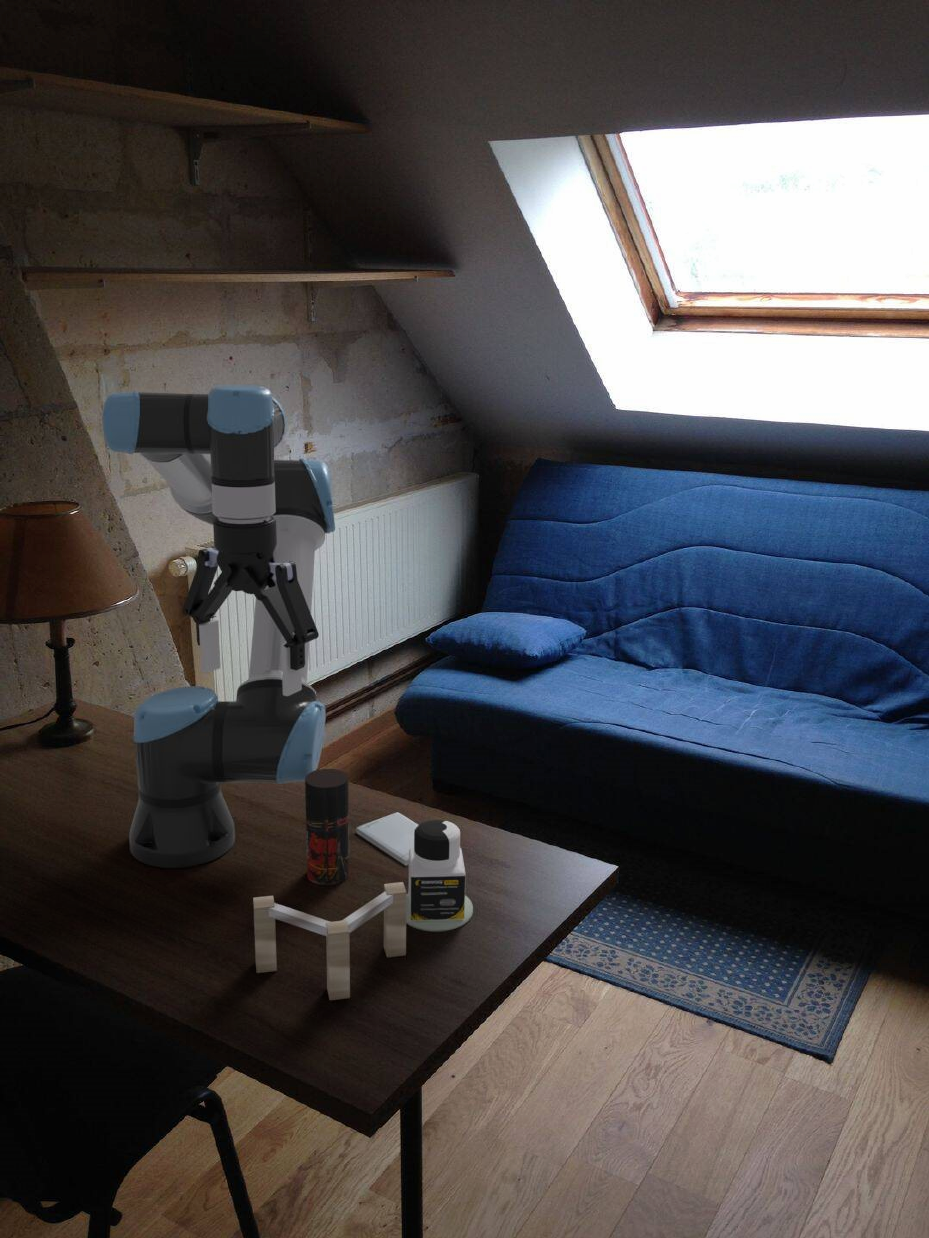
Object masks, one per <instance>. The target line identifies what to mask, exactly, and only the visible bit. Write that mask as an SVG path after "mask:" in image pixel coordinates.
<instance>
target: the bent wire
mask: <svg viewBox="0 0 929 1238" xmlns="http://www.w3.org/2000/svg"><path fill="white" fill-rule="evenodd" d="M406 895H407V890H406V887H405V884H404V882H403V881H399V882H392V883H391V882H390V883H384V884H383V892H382V893H381V894H379V895H377V896H376V897H374V898H373V899H372V900H370V901H368V902H367V903H366V904H364V905H363V906H361V907H360V908H358V909H357V910H355V911H354V912H352V913H351V914H349V915H348V916H346V917H345V918H344V919H342V920H336V921H329V920H327V919H323V918H321V917H317V916H315V915H313V914H309V913H306V912H303V911H299V910H297V909H293V908H291V907H288V906H285V905H282V904H280V903H279V904H278V903H276V902H275V899H274V895H266V896H257V897H252V899H253V900H252V904H253V925H254V927H253V928H254V949H255V951H254V953H255V956H254V957H255V968H256V974H260V973H269V972H270V973H271V972H277V971H278V969H277V967H278V966H277V939H276V938H277V937H276V936H277V935H276V920H278V921H280V922H283V923H285V924H286V923H287V924H290V925H291V926H296V927H298V928H301V929H305V930H307V931H310V932H312V933H315V934H318V935H322V936H324V937H326V939H325V940H326V941H325V942H326V945H325V947H326V986H327V987H326V989H327V994H328V999H329V1001H336V1000H345V999H351V987H350V986H351V982H350V981H351V979H350V978H351V975H350V974H351V972H350V971H351V967H350V966H351V964H350V963H351V960H350V959H351V958H350V954H351V953H350V947H351V946H350V945H351V944H350V933H352V932H354V931H355V930H356V929H357V928H360V927H361V926H363V924H365V923H367V922H368V921H369V920H370V919H372V918H373V917H375V916H376V915H378V914H379V913H381V912H382V911H383V949H384V952H385V956H386V958H393V957H394V958H395V957H402V956H406V955H407V923H406Z"/></svg>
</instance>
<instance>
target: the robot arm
mask: <svg viewBox="0 0 929 1238" xmlns="http://www.w3.org/2000/svg"><path fill="white" fill-rule="evenodd" d="M286 424H287V419H286V414H285V411H284V409H283V407H282V405H281V403H280V402H279V401H278V400H277V399H276V398H275V397H273V395H272V392H271V391H270V389H268V388H267V387H263V386H259V385H252V384H251V385H249V384H235V385H234V384H231V385H230V384H229V385H227V384H226V385H221V386H220V385H219V386H215V387H213V388H211V390H210V391H209V393H201V394H200V393H176V392H175V393H174V392H173V393H170V392H168V393H167V392H143V391H142V392H139V391H136V390H134V391H132V392H131V391H129V392H114V393H112V394H110V395H109V396H107V397H106V398H105V401H104V404H103V408H102V432H103V433H102V434H103V437H104V441H105V444H106V447H108V449H110V450H111V451H112V452H115V453H124V454H128V455H133V454H140V455H141V456H143V457H144V458H145V460H146V461H147V462H148V463H149V464H150V465H151V466H152V468H154V470H155V471H156V472H157V473H158V474H159V476H161V477H162V478H163V480H164V481H165V482H166V483H167V484H168V485H169V491H170V493H171V497H172V498H173V500H174V501H175V503H176V504H177V505H178V506H179V507H180V508H181V509H183V511H185V512H186V513H188V514H189V515H191V516H192V517H195V519H198V520H200V521H202V522H205V523H207V524H210V525H212V527H213V529H212V531H213V546H210V547H207V548H202V549H199V551H198V552H197V567H196V570H195V572H194V576H193V578H192V582H191V584H190V586H189V589H188V593H187V594H186V598H185V600H184V604H183V606H182V610H181V611H182V615H184V616H186V617H188V616H190V617H191V618H192V620H193V622H194V623H195V628H196V629H195V631H196V643H197V646H199V650H200V651H199V654H200V669H201V670H200V671H201V673H202V674H205V675H206V674H209V673H211V672H214V671H217V670H219V669H221V651H220V650H221V649H220V646H221V645H220V628H219V625H220V624H219V620H217V619H215V618H216V617H217V614H216V613H217V612H218V610H219V609H220V608H221V606H222V605H223V604H224V602H225V601H226V600H227V598H228V597H229V596H230V594H231V593H232V591H233V592H243V593H245V594H247V595H254V597H255V603H254V615H253V624H252V625H253V626H252V636H251V637H252V638H251V639H252V640H251V649H250V650H251V652H250V659H249V672H248V678H247V679H246V680H245V681H243V682H242V683H241V684H239V686H238V687H237V690H236V697H235V698H236V700H234V701H224V700H223V701H219V698H218V695H217V694H216V691H214V690H213V689H212V688H209V687H205V686H199V685H198V686H197V685H193V686H192V685H191V686H183V687H177V688H176V687H175V688H171V689H167V690H164V691H161V692H158V693H157V694H154V695H151V696H150V697H147V698H146V699H145V700H144V701H142V702H141V703H139V705H138V706H137V708H136V709H135V712H134V714H133V715H134V716H133V717H134V718H133V726H134V727H133V730H134V732H133V734H132V739H133V742H134V750H135V753H134V754H135V765H136V775H137V777H136V778H137V787H138V788H137V789H138V801H137V805H136V808H135V812H134V815H133V819H132V822H131V825H130V829H129V835H128V836H129V837H128V838H129V839H128V840H129V851H130V854H131V855H132V856H133V857H134V858H135V859H136V860H137V861H138V862H140V863H142V864H145V865H148V866H151V867H156V868H163V869H164V868H165V869H181V868H183V869H184V868H189V867H190V868H191V867H195V866H199V865H203V864H207V863H209V862H213V861H215V860H216V859H218V858H220V857H222V856H223V855H225V854H226V853H228V851H229V850H231V848H232V847H233V845H234V844H235V841H236V833H235V831H236V830H235V829H236V828H235V823H234V820H233V817H232V815H231V812H230V810H229V807H228V805H227V802H226V800H225V798H224V796H223V793H222V790H221V789H222V788H221V783H247V784H248V783H253V784H254V783H255V784H256V783H263V784H266V783H268V784H271V783H273V784H278V785H283V784H286V783H303V782H304V783H305V777H306V775H308V774H309V773H311V772H313V771H316V770H318V765H319V763H320V759H321V754H322V749H323V744H324V738H325V725H326V714H327V713H326V706H325V704H324V703H323V702H320V701H319V700H317V691H316V690H315V688H313V687H312V685H310V684H309V683H308V672H309V671H308V669H309V656H310V653H309V652H310V642H311V641H314V640H317V639H318V638H319V631H318V628H317V626H316V623H315V621H314V618H313V615H312V605H313V602H312V601H313V588H314V587H313V586H314V571H315V553H316V551H317V550H318V549H320V548H321V547H322V546H323V545H324V543H325V541H326V534H330V533H333V532H335V531H336V523H335V522H336V521H335V512H334V503H333V494H332V493H333V492H332V484H331V475H330V469H329V467H328V465H327V464H326V463H325V462H324V461H320V460H309V459H308V460H307V459H304V458H299V459H298V460H294V459H293V460H291V459H275V448H276V447H277V446H278V445H279V444H280V443H281V442H282V440H283V437H284V435H285V431H286ZM218 568H219V570H220V571H221V573H220V574H219V575H218V577H217V578H216V580H215V581H214V579H215V576H216V574H217V571H218ZM212 585H213V586H212ZM211 587H212V589H211ZM211 619H213V620H211Z"/></svg>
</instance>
